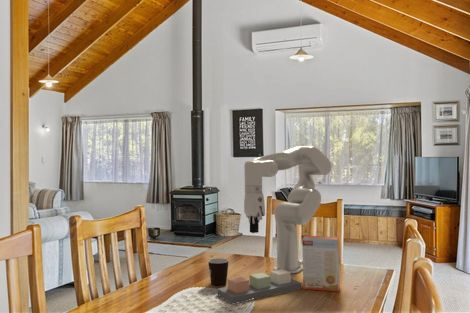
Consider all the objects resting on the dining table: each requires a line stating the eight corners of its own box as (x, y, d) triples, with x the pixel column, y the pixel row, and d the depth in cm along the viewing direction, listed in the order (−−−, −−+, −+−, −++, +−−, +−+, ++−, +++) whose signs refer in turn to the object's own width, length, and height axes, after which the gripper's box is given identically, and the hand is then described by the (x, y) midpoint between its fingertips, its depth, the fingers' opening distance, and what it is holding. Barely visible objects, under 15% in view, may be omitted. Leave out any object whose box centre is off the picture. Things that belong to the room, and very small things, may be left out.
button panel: (283, 281, 186) (283, 275, 186) (301, 288, 175) (301, 282, 175) (217, 295, 170) (217, 288, 170) (232, 304, 159) (232, 297, 159)
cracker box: (339, 287, 176) (339, 236, 176) (338, 292, 170) (337, 239, 170) (305, 284, 181) (304, 234, 180) (302, 289, 175) (302, 237, 175)
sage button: (262, 284, 177) (261, 272, 177) (270, 288, 171) (270, 276, 171) (249, 287, 174) (249, 274, 174) (257, 291, 168) (257, 278, 168)
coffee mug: (226, 287, 178) (226, 263, 178) (206, 286, 180) (205, 262, 180) (232, 279, 190) (232, 256, 190) (213, 278, 191) (212, 256, 191)
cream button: (282, 280, 182) (281, 268, 182) (290, 284, 177) (290, 272, 176) (270, 283, 179) (270, 271, 179) (278, 287, 173) (278, 274, 173)
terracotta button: (241, 289, 172) (240, 276, 172) (249, 293, 166) (249, 280, 166) (227, 291, 169) (227, 279, 168) (235, 296, 163) (235, 282, 163)
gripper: (270, 190, 182) (271, 234, 182) (251, 188, 195) (252, 228, 195) (255, 191, 178) (256, 236, 178) (237, 188, 191) (237, 230, 191)
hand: (254, 232), depth 187 cm, fingers closed
